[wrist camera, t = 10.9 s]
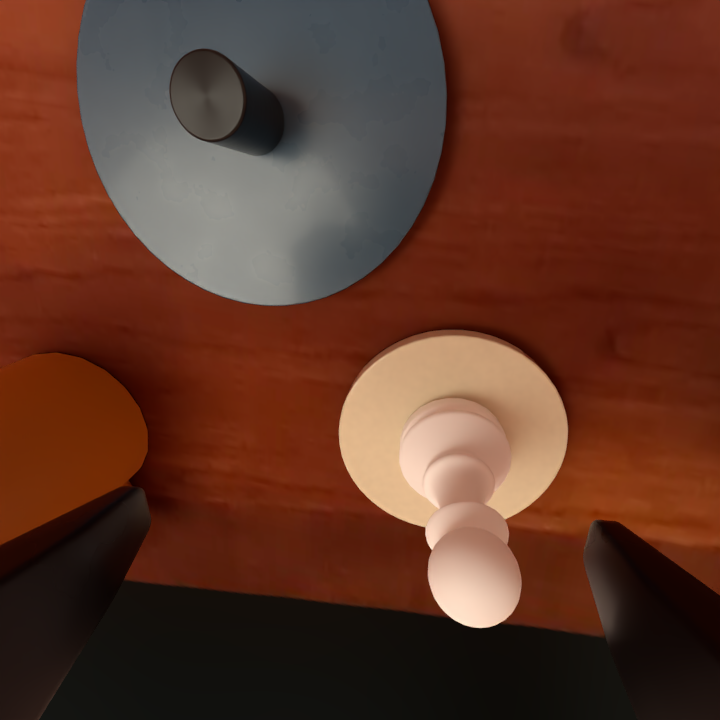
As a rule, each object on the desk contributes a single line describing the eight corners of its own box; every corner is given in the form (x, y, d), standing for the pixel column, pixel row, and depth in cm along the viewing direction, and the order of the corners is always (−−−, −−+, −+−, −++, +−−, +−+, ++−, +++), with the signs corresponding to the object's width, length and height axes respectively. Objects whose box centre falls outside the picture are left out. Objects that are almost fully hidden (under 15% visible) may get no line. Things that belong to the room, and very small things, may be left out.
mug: (80, 534, 27) (-70, 685, 18) (-26, 371, 23) (-276, 467, 15) (198, 515, 25) (91, 673, 17) (105, 333, 21) (-96, 420, 13)
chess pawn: (485, 381, 19) (545, 527, 10) (517, 468, 20) (593, 659, 12) (383, 415, 20) (364, 570, 11) (421, 495, 21) (427, 684, 13)
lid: (487, 235, 17) (516, 247, 13) (199, 339, 21) (136, 380, 16) (368, -216, 13) (343, -457, 8) (27, 10, 16) (-130, -68, 12)
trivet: (580, 493, 21) (588, 506, 20) (382, 534, 24) (381, 547, 23) (533, 296, 18) (540, 301, 17) (309, 368, 20) (304, 376, 20)
